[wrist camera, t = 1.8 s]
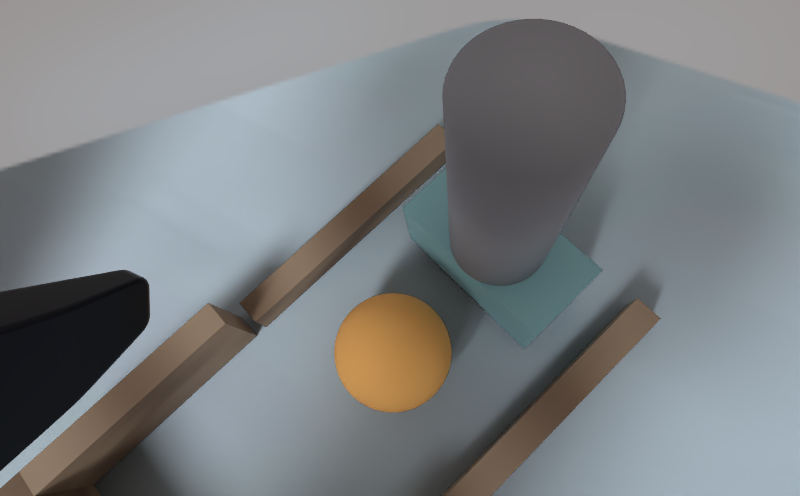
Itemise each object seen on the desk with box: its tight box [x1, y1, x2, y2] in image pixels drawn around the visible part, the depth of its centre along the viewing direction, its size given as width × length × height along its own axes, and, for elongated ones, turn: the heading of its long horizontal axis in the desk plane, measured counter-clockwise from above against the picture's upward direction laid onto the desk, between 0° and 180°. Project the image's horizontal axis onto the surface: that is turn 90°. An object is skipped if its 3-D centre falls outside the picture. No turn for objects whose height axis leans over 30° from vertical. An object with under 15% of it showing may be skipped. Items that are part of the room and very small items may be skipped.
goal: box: [0, 124, 661, 496], centre depth 19 cm, size 20×11×3 cm, turn 133°
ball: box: [334, 293, 452, 412], centre depth 18 cm, size 4×4×4 cm
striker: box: [403, 19, 626, 349], centre depth 15 cm, size 3×6×12 cm, turn 43°
